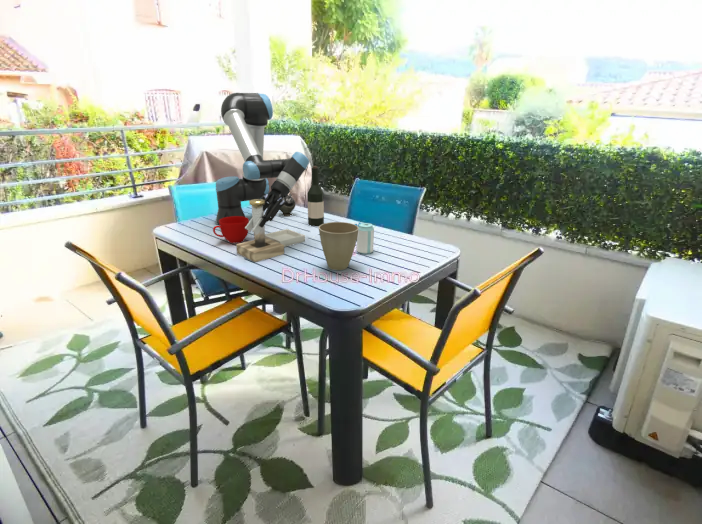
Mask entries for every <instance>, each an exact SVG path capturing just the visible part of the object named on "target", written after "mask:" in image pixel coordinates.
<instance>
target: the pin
mask: <svg viewBox="0 0 702 524" xmlns="http://www.w3.org/2000/svg"><path fill="white" fill-rule="evenodd" d="M248 203H249V205H250V206H251V215H252V216H251V218H252V217H253V228H254V227H255V225H256V224H257V222H258V221H259V220H260V218H262V216H264V214H265V211H264V210H263V205H264V204H265V200H263V199H253V200H250V201H248ZM265 227H266V224H265V225H264V226H263V228H262V229H261V230H260V232H259V233H258V235H256V234H255V233H254V232H253V240H254V242H255V247H256V248H260V247H264V246H266V240H265V234H266V230H265V229H266V228H265Z"/></svg>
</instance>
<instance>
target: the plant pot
mask: <svg viewBox="0 0 702 524" xmlns="http://www.w3.org/2000/svg"><path fill="white" fill-rule="evenodd" d="M354 224H355V223H351V222H344V221H331V222H326V223H325V222H324V224H322V225H320V226H318V233H319V239H320V243H321V248H322V251H323V254H324V255H323V256H324V258H325V261H326V264H327V266H328V268H329V269H330V270H334V271H343V270H347V269H348V267H349V265H350V262H351V260H352V257H353V254H354V251H355V248H356V245H357V235H358V229H359V227H358V224H357V225H354Z"/></svg>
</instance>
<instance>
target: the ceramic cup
mask: <svg viewBox="0 0 702 524" xmlns="http://www.w3.org/2000/svg"><path fill="white" fill-rule="evenodd" d="M249 221H250V219H249V218H248V217H246V216H245V217H242V216H231V217H225V218H222V219H220V220H219V225H216V226H213V228H212V232H213V234H214V235H215V236H216V237H220V238H224V239H225V240H226V241H227V242H228V243H230V244H239V243H244V242H245V239H246V237H247V236H248V233H249V231H248V230H247V229H246V228H245V227H246V226H247V224H248V223H249ZM217 228H219V230H220V232H221V234H218V233H217V232H216V229H217Z"/></svg>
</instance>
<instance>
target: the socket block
mask: <svg viewBox="0 0 702 524" xmlns="http://www.w3.org/2000/svg"><path fill="white" fill-rule="evenodd" d="M265 240H266V246H264V247H260V248H256V247H255V242H254V239H252V240H248V241H243V242H240V243H235V244H236V254H238V255H240V256H241V257H244V258H246V259H247V260H249V261H252V262H254V263H257V262H261V261H264V260H265V261H266V260H268V259H271V258H275V257H278V255H279V256H282V255H285V247H284V245H283V244H280V243H278V242H275V241H273V240H270V239H268V238H265Z"/></svg>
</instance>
